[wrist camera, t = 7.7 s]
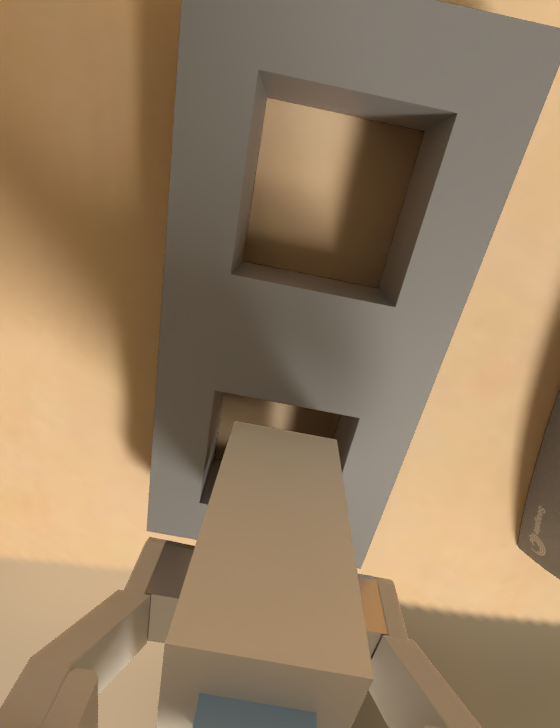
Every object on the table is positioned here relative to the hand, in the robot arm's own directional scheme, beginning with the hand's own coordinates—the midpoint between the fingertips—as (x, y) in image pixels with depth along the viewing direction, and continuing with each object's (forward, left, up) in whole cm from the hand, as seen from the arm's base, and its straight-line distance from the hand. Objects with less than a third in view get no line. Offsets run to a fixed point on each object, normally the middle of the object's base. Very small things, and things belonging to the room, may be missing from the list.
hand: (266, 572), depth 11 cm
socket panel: (-5, 0, -8) cm, 9 cm away
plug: (0, 0, -5) cm, 5 cm away
